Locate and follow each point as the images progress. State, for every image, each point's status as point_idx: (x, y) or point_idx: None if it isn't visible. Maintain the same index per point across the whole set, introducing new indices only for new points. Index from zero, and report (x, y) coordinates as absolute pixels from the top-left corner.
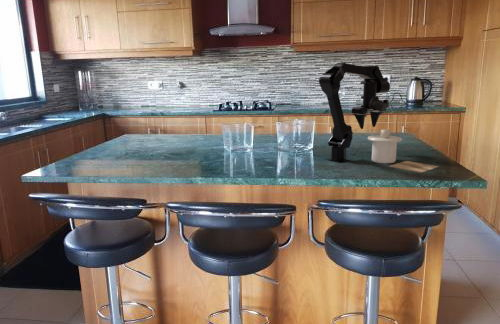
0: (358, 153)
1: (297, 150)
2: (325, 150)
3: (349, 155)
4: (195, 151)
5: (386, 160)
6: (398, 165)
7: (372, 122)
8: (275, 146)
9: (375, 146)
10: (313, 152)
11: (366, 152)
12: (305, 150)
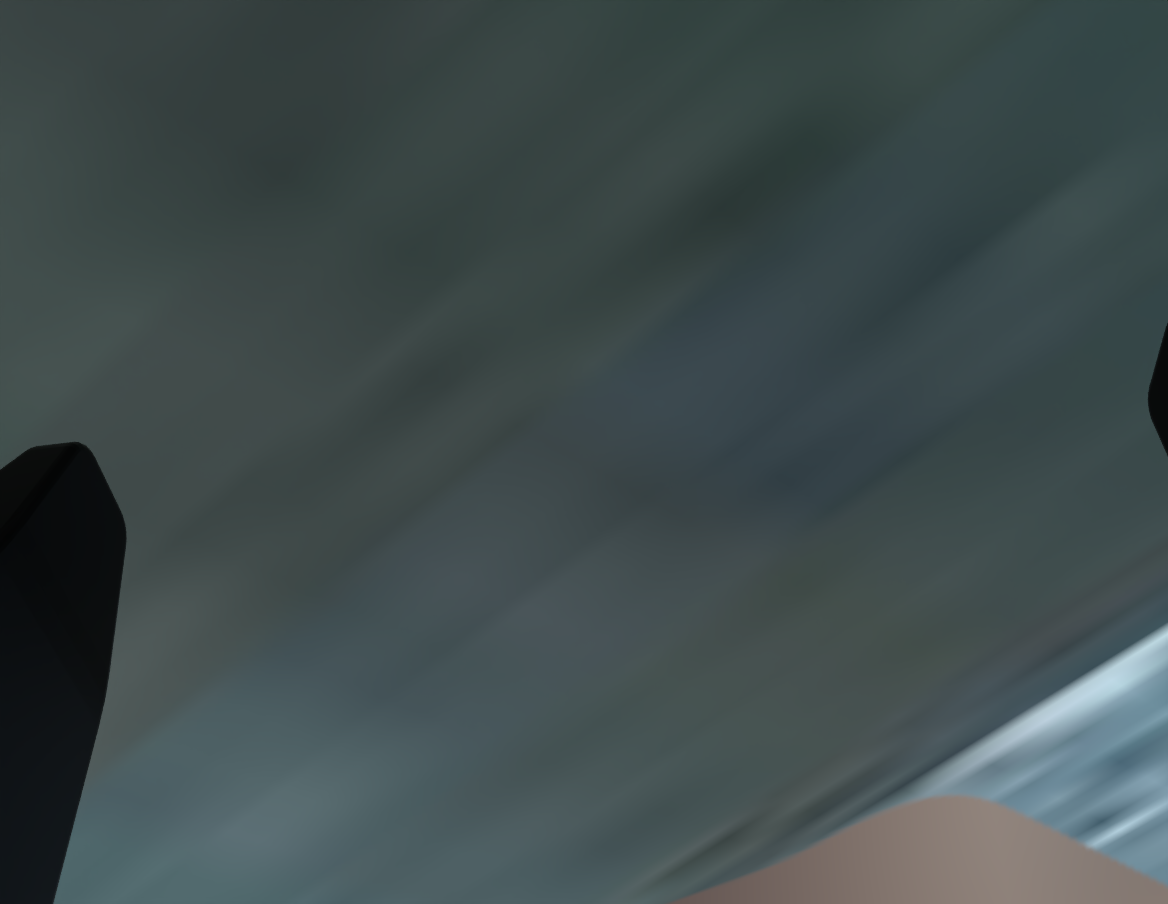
0: (559, 229)
1: (1107, 826)
2: (826, 682)
3: (882, 197)
4: None
5: None
6: None
7: (65, 738)
8: None
9: None
10: (1089, 669)
11: (318, 201)
12: (1036, 790)
